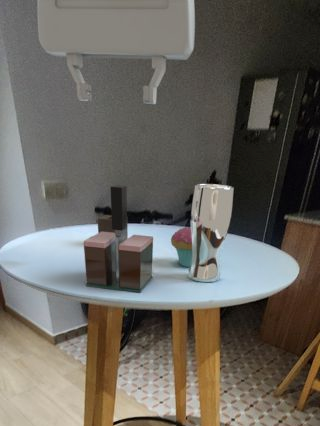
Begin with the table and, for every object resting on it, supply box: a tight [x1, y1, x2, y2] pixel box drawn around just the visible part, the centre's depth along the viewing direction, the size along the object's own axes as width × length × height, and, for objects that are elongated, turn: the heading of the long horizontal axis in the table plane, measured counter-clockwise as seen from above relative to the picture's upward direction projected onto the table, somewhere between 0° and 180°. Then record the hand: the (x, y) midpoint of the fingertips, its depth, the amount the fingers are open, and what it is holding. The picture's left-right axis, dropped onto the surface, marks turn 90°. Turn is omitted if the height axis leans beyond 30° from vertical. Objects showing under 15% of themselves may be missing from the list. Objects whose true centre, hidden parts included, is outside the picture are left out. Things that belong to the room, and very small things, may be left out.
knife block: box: [97, 214, 129, 241], centre depth 85 cm, size 5×5×6 cm
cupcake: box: [170, 226, 192, 268], centre depth 73 cm, size 9×8×12 cm
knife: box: [110, 184, 128, 282], centre depth 61 cm, size 2×3×14 cm, turn 167°
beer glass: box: [187, 183, 235, 283], centre depth 65 cm, size 7×7×15 cm
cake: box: [83, 232, 154, 294], centre depth 63 cm, size 10×9×7 cm
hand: (116, 102), depth 51 cm, fingers open, 8 cm apart
